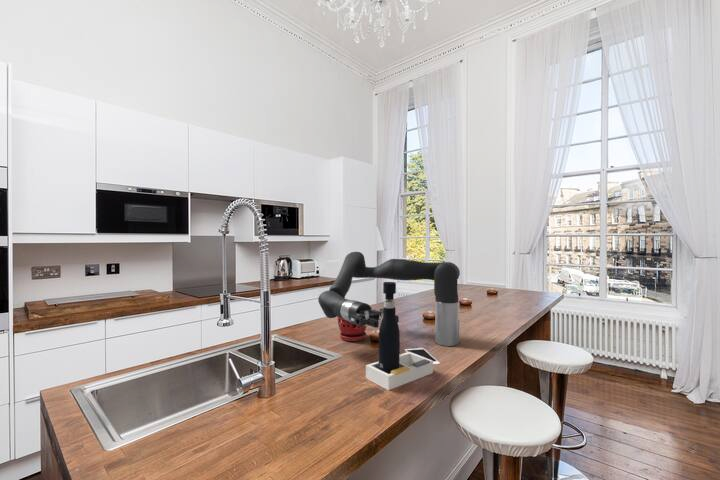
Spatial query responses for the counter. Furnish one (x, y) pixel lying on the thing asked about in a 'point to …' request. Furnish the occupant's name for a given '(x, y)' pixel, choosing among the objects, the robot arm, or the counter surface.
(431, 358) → the cell phone
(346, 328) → the plant pot
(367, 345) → the counter surface
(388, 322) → the black water bottle
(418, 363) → the bottle holder
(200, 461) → the counter surface
